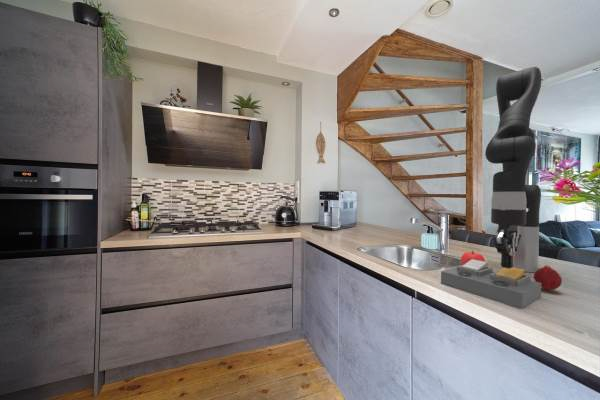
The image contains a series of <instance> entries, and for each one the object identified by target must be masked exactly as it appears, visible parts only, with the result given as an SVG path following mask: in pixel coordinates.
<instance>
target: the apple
mask: <svg viewBox="0 0 600 400" xmlns="http://www.w3.org/2000/svg"><path fill="white" fill-rule="evenodd" d="M471 259H474V260H478V261H483V262H486V260H485V258H484V256H483V254H481V253H477V252H474V250H472V251H471V252H468V251H467V252H463V254H462V255H461V257H460V264H461V265H464V264H466V263H467V262H469V261H470V260H471ZM461 265H460V266H461Z"/></svg>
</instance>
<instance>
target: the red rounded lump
mask: <svg viewBox="0 0 600 400" xmlns="http://www.w3.org/2000/svg"><path fill="white" fill-rule="evenodd" d="M544 265H545V266H543V267H541V268H538V270H537V271H536V272H533V273H534V274H533V281H535V282H540V283H541V289H543V290H544V291H546V292H549V291H552V290H556V289H558V288H560V287H561V285H562V283H563V281H562V280H563V279H562V276H561V275H560V274H559V273H558V272H557V270H555V269H554V268H552V267H551V266H550V265H549V264H547V263H546V264H544Z"/></svg>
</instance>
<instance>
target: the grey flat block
mask: <svg viewBox="0 0 600 400" xmlns="http://www.w3.org/2000/svg"><path fill="white" fill-rule="evenodd" d="M462 266H463V265H458V266H455V267H452V268H451V267H450V268H447V269H444V270H440V271H441V272H440V284H441V285H445V286H447V287H448V286H449V287H451V288H454V289H458V290H461V291H464V292H467V293H470V294H473V295H477V296H479V297H484V298H486V299H489V300H492V301H496V302H499V303H502V304H505V305H508V306H511V307H515V308H518V309H521V310H524V309H525V308H527V307H528V306H530V305H531V304H532V303H534V302H535V301H537V300H539V299H540V298H541V297H542V287H541V283H540V282H536V281H535V280H531V275H527V274H524V275H523V276H522V277H521V278H520V279H519V280H517V281H516V280H512V279H508V278H504V277H499V276H496V274H497V273H498V272H499V271H497V272H496V271H494V270H493V269H494V267H491V266H487V267H486V268H484V269H483V270H481V271H474V270H470V269H466V268H462Z"/></svg>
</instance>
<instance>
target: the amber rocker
mask: <svg viewBox="0 0 600 400" xmlns="http://www.w3.org/2000/svg"><path fill="white" fill-rule="evenodd" d="M497 272H498V273H497V274H496V276H499V277H504V278H508V279H512V280H516V281H517V280H519V279H520V278H521V277H522V276H523V275H526V274H525V272H524V270H523V269H518V268H513V267H512V268H510V269H508V268H504V267H502V268H501V269H500V270H499V271H497Z"/></svg>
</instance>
